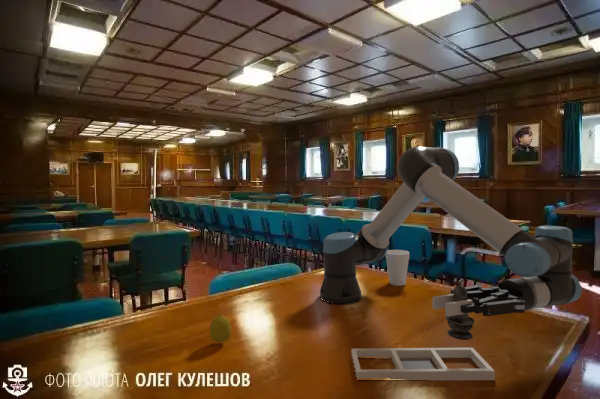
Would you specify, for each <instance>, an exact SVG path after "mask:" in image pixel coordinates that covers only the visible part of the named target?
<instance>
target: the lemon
mask: <svg viewBox="0 0 600 399" xmlns="http://www.w3.org/2000/svg"><path fill="white" fill-rule="evenodd" d="M209 326H210V327H209V334H210V337H211V339H212V341H214V342H215V341H216V343H218V342H222V341H224V342H226V341H227V340H228V339H229V338H230V336H231V334H232V326H231V321H230V320H229V318H228V317H226V316H225V315H222V314H218V315H217V316H215V317H214V318H213V319H212V321H211V322H210V325H209ZM225 340H226V341H225Z"/></svg>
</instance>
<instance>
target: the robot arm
mask: <svg viewBox="0 0 600 399" xmlns="http://www.w3.org/2000/svg"><path fill="white" fill-rule="evenodd" d="M396 168H397V173H398V176H399V178H400V179H401V181H402V183H401V184H400V186H399V187H398V188H397V190H396V191H395V192H394V193H393V194H392V196H391V198H390V199H389V200H388V201H387V203H386V204H384V206H383V207H382V209H381V210H380V211H379V212H378V214H377V215H376V216H375V217H374V218H373V220H372V221H371V222H370V223H367V224H364V225H363V226H362V227H361V228H360V229H359V231H358V232H357V233H353V232H352V231H351V232H350V231H341V232H334V233H331V234H328V235H326V237H324V239H323V247H322V250H323V279H322V282H321V283H322V284H321V287H320V290H319V298H320V297H321V298H322V299H323V300H325V301H329V302H333V303H350V304H355V303H357V302H359V301H360V300H361V299H362V291H361V287H360V284H359V282H358V279H357V266H361V265H366V264H371V263H372V264H373V263H376V262H379V261H380V260H382V259H383V258H384V257H386V253H387V251H388V250H389V249H388V246H389V245H390V238H391V237H392V236H393V235H394V233H395V232H396V231H397V230H398V229H399V228H400V226H401V225H402V224H403V223H404V222H405V221H406V220H407V219H408V217H409V216H410V215H411V214H412V213H413V212H414V210H415V209H416V208H417V207H418V206H419V204H421V202H422V201H423V200H424V199H425V198H426V197H427V198H428V199H429V200H430V201H432V202H433V203H435V204H436V205H437V206H438V207H440V208H441V209H442V210H443V211H445V212H446V213H447V214H448V215H449V216H451V217H452V218H453V219H455V220H456V221H458V222H459V223H460V225H463V226H464V228H466V229H468V230H469V231H470V232H472V233H473V234H474V235H475V236H476V237H478V238H480V239H481V240H482V241H483V242H484V243H485V244H487V245H488V246H490V248H492V249H493V250H495V251H496V252H497V253H498V254H499V255H501V256H503V258H504V260H505V264H506V266H507V268H508V269H509V271H510V272H511V273H513V274H514V275H516V276H518V277H515V278H508V279H503V280H501V281H500V283H499V284H498V285H497V286H490V287H485V288H484V287H482V284H480V283H476V284H475V285H471V286H465V287H464V286H463V287H464V288H466V290H467V300H463V301H456V302H452V301H453V298H454V288H453V289H450V293H449V294H448V293H447V294H443V295H442V294H441V295H435V296H432V297H431V298H432V299H431V300H432V304H431V305H432V306H431V307H432V309H433V310H439V309H445V311H444V313H445V314H444V315H445V317H446V316H454V315H461V314H467V313H468V314H471V313H474V314H477V315H478V314H482V316H483V317H491V316H493V317H494V316H499V315H508V314H514V313H517V314H518V313H519V314H524V313H525V312H526V311H533V310H535V309H540V308H546V307H547V308H548V307H554V306H564V305H567V304H570V303H572V302H575V301H577V300H579V298H581V295H582V292H583V289H582V288H583V287H582V285H581V284H580V281H579V279H578V278H577V277H576V276H575V275H574V274H572V273H573V272H572V266H573V264H572V262H573V261H572V260H573V245H574V240H573V231H572V229H570V228H569V227H565V226H560V225H558V226H557V225H539V226H537V227H535V230H534V235H533V236H532V235H531V234H530V233H528V232H527V231H525V230H524V229H523V228H521V227H520V226H518V225H517V224H516V223H514V222H513V221H511V220H510V219H509V218H507V217H505V216H504V215H503V214H501V213H500V212H499V211H497V210H496V209H494V208H493V207H491V206H490V205H489V204H487V203H486V202H484V201H483V200H482V199H481V198H479V197H477V196H475V195H474V194H473V193H472V192H470V191H469V190H467V189H465V187H463V186H461V185H460V184H459V183H458V182H456V181H455V179H456V178H457V176H458V175H459V173H460V163H459V158H458V157H457V155H456V154H455V153H454V152H453V151H451V150H450V149H448V148H444V147H441V146H437V147H428V146H413V147H410V148H408V149H406V150H405V151H404V152H403V153H402V154H401V156H400V157H399V159H398V161H397V166H396ZM323 300H322V301H323ZM325 301H324V302H325ZM354 302H355V303H354Z"/></svg>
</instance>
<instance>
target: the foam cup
mask: <svg viewBox="0 0 600 399" xmlns="http://www.w3.org/2000/svg"><path fill="white" fill-rule="evenodd" d="M409 260H410V251H408V250H404V249H403V250H402V249H388V250H387V253H386V255H385V261H386V267H387V272H388V273H387V274H388V280H389V284H390V285H392V286H396V287H398V286H399V287H400V286H401V287H402V286H405V285H406V284H407V277H408V276H407V275H408V268H409Z"/></svg>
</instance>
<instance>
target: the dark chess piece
mask: <svg viewBox="0 0 600 399" xmlns="http://www.w3.org/2000/svg"><path fill="white" fill-rule="evenodd" d="M453 289H454V298H453V301H452V302H456V301H463V300H467V290H466V288H464V286H463V284H462V282H459V283H458V285H457V286H455V287H454V288H453ZM445 319H446V321H447V325H448V326H449V328H450V329H449V330H447V332H446V333H447V335H448V336H449V337H451V338H452V339H456V340H460V341H461V340H462V341H468V340H471V339H473V338H474V336H473V333H471V332H470V331H471V330H472V328H473V327H474V324H475V319H474V318H472V317H471V316H469V313H467V314H461V315H454V316H446V315H445Z"/></svg>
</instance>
